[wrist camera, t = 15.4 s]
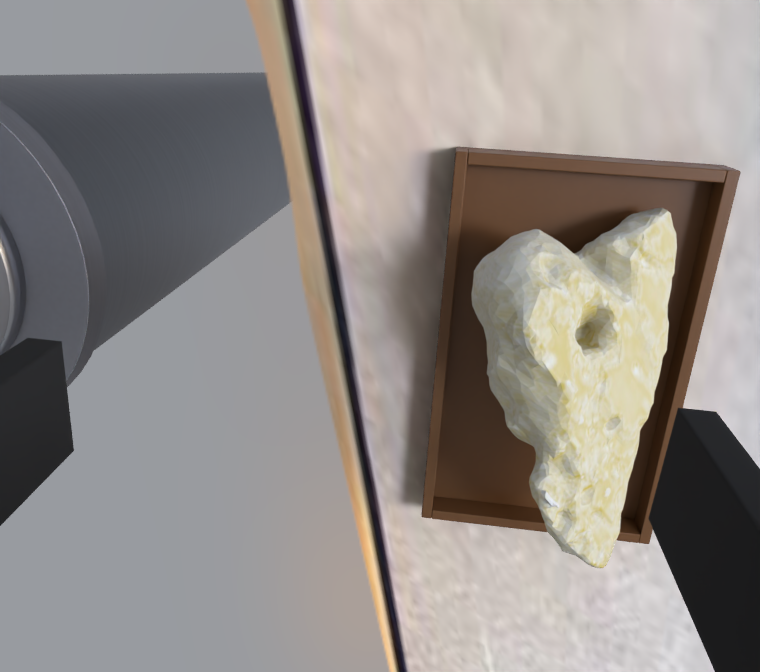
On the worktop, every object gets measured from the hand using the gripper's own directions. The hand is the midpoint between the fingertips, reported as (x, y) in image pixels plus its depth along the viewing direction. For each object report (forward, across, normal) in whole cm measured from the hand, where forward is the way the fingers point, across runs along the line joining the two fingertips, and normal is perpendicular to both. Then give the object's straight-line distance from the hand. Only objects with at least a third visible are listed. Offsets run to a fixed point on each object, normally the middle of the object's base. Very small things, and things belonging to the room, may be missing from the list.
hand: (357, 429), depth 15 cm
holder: (+23, +9, -7) cm, 26 cm away
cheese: (+23, +10, -7) cm, 26 cm away
